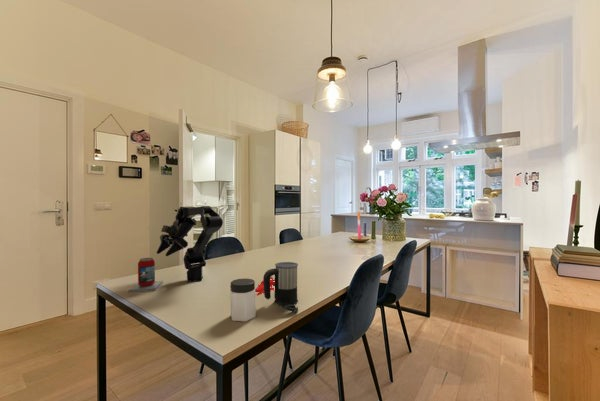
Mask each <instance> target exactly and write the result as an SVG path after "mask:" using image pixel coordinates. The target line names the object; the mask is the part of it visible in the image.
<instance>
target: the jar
mask: <svg viewBox="0 0 600 401" xmlns="http://www.w3.org/2000/svg"><path fill="white" fill-rule="evenodd" d="M255 283H256V282H255V280H254V279H252V278H237V279H233V280H232V281H230V317H231V321H233V322H247V321H250V320H252V319H254V318H256V293H255V289H256V288H255V285H256V284H255Z"/></svg>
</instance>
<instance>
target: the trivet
mask: <svg viewBox="0 0 600 401" xmlns="http://www.w3.org/2000/svg"><path fill="white" fill-rule="evenodd" d="M163 284H164V281H163V280H158V281H157V280H155V283H154V284H153V285H151V286H147V287H142V286H140V285H138V282H136V283H135V284H134V285H132V286H131V287H130V288H129V289H128V293H135V292H150V291H151V292H152V291H157V290H158V289H159V288H160V287H161V285H163Z"/></svg>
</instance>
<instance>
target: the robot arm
mask: <svg viewBox="0 0 600 401" xmlns="http://www.w3.org/2000/svg"><path fill="white" fill-rule="evenodd" d="M198 215H200V218H199V219H200V223H201V227H202V229H201V230H202V231H201V232H200V234H199V236H198V237H197V240H196V242H195V243H194V246H193V247H188V245H189V242H188V241H187V240H186V239H185V237H188V236H189V232H191V230H192V229H193V227H195V226H197V220H196V219H195V218H194V217H196V216H198ZM205 215H209V216H205ZM223 223H224V221H223V219H222V217H221V216H220V213H218V212H217V211H216V210H214V209H213V208H212V207H211V206H210V205H201V206H198V207H195V206H179V209H178V210H177V212H176V215H175V219H174V220H173V223H172V224H171V225H166V224H165V225H163V226H162V228H161V231H160V232H161V233H162V234H161V235H160V236H159V240H160V243H159V246H158V248H157V250H156V254H158V255H159V254H161V253H163V252H164V251H166V250H167V249H168V250H167V251H166V253H165V257H169V256H171V255H172V254H175V253H177V252H179V251H181V250H184V249H186V248H187V247H188V248H187V249H186V251H185V252H184V257H183V264H184V268H185V270H186V275H187V276H186V280H187V282H189V283H190V282H201V281H202V280H203V278H204V276H203V267H206V264H207V262H206V260H205V258H204V254H203V252H204V250H205V248H206V247H207V244H208V243H209V241H210V240H211V238H212V236H213V234H216V233H217V232H218V231H219V230H221V228H222V226H223Z"/></svg>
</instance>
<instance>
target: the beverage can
mask: <svg viewBox="0 0 600 401" xmlns="http://www.w3.org/2000/svg"><path fill="white" fill-rule="evenodd" d="M155 264H156V263H155V260H154V259H153V257H143V258H140V259H139V261H138V263H137V283H138V285H140V286H142V287H147V286H151V285H153V284H154V283H155V281H156V266H155Z"/></svg>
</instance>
